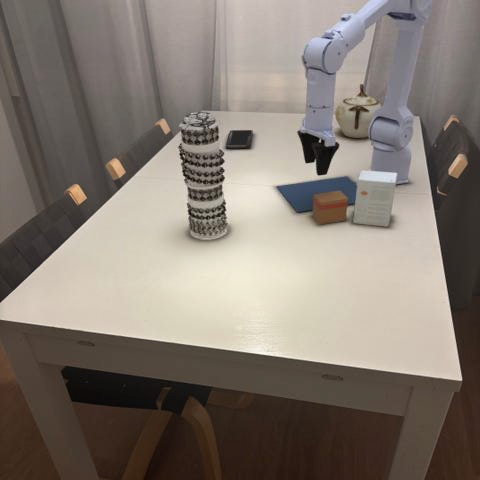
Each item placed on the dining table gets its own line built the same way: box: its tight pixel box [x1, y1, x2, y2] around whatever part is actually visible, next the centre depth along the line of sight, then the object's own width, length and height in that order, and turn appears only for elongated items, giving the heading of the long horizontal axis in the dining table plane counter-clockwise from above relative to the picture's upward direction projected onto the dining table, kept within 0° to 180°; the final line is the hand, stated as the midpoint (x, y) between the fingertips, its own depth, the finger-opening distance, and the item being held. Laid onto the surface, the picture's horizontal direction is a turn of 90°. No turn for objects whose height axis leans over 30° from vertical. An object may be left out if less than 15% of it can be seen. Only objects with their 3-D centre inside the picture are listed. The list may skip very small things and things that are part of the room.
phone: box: [225, 129, 254, 150], centre depth 154 cm, size 8×1×15 cm
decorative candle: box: [177, 111, 228, 241], centre depth 100 cm, size 9×9×25 cm
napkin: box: [276, 175, 357, 214], centre depth 120 cm, size 20×16×1 cm
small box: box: [352, 169, 397, 228], centre depth 105 cm, size 8×6×10 cm
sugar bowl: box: [334, 83, 382, 139], centre depth 151 cm, size 20×15×15 cm
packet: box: [311, 191, 349, 226], centre depth 108 cm, size 7×5×6 cm
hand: (315, 168), depth 107 cm, fingers open, 7 cm apart
